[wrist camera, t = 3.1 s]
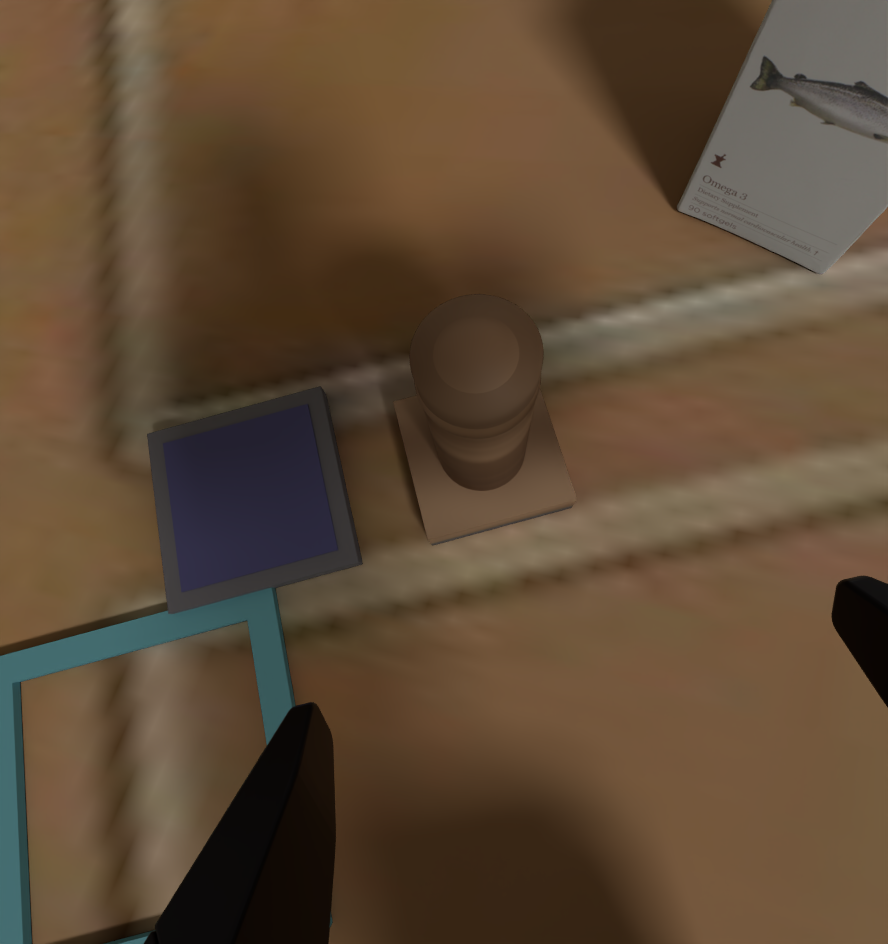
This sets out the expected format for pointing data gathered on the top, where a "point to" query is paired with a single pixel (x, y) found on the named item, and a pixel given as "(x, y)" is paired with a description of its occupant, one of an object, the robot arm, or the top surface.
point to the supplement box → (802, 134)
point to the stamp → (480, 421)
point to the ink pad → (251, 501)
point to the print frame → (3, 786)
